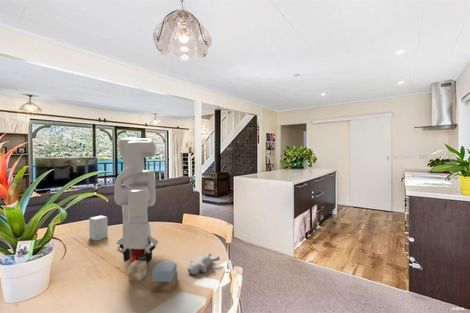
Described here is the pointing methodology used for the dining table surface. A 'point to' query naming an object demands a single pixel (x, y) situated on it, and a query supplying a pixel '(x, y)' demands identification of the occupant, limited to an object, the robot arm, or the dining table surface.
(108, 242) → the dining table surface
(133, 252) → the canned food
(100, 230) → the supplement box
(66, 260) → the dining table surface
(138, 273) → the maple block
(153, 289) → the tower base block
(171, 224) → the dining table surface
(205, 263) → the white figure shaped piece
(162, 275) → the tower top block
